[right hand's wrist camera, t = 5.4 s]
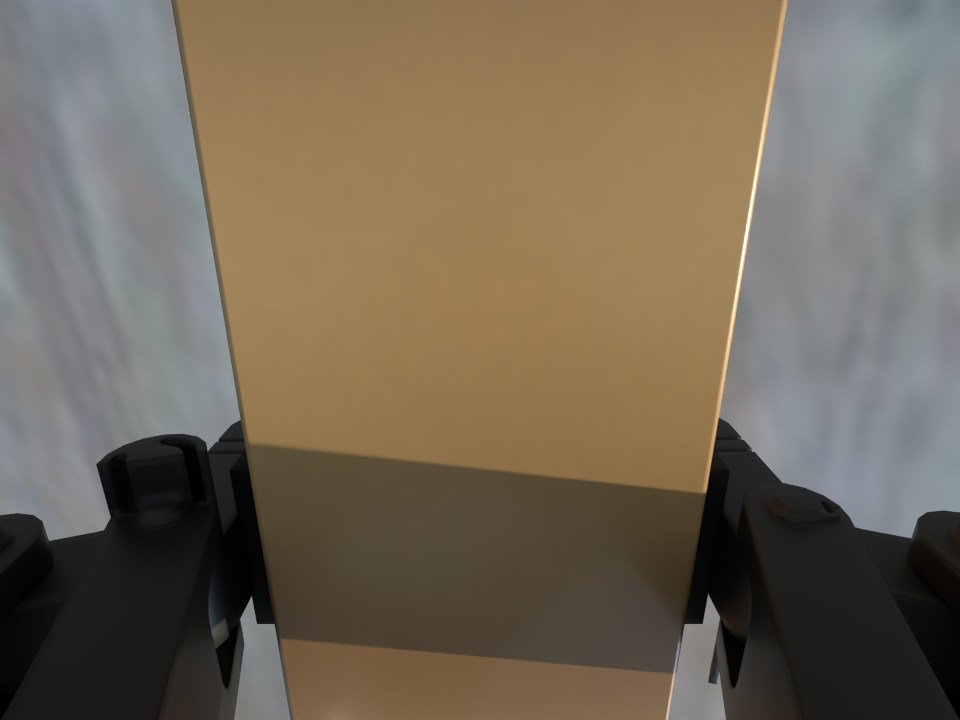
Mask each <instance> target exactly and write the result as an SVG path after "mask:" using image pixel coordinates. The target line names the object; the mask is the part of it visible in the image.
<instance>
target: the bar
mask: <svg viewBox="0 0 960 720" xmlns="http://www.w3.org/2000/svg"><path fill="white" fill-rule="evenodd" d="M171 2H172V8H173V14H174V20H175V26H176V32H177V38H178V44H179V50H180V56H181V62H182V68H183V74H184V80H185V86H186V92H187V98H188V104H189V110H190V116H191V122H192V128H193V134H194V140H195V146H196V152H197V158H198V164H199V170H200V176H201V182H202V188H203V194H204V200H205V206H206V212H207V218H208V225H209V231H210V237H211V243H212V249H213V255H214V261H215V267H216V273H217V279H218V285H219V291H220V297H221V303H222V309H223V315H224V321H225V327H226V333H227V339H228V345H229V351H230V357H231V363H232V369H233V375H234V381H235V387H236V393H237V399H238V405H239V411H240V417H241V423H242V429H243V435H244V441H245V447H246V453H247V460H248V466H249V472H250V478H251V484H252V490H253V496H254V502H255V508H256V514H257V520H258V526H259V532H260V538H261V544H262V550H263V556H264V562H265V568H266V574H267V580H268V586H269V592H270V598H271V604H272V610H273V616H274V622H275V628H276V634H277V640H278V646H279V652H280V658H281V664H282V670H283V676H284V682H285V689H286V695H287V701H288V707H289V713H290V719H291V720H669V715H670V709H671V703H672V697H673V690H674V684H675V678H676V672H677V666H678V660H679V654H680V648H681V642H682V636H683V630H684V624H685V618H686V612H687V606H688V600H689V594H690V588H691V582H692V576H693V570H694V564H695V558H696V551H697V545H698V539H699V533H700V527H701V521H702V515H703V509H704V503H705V497H706V491H707V485H708V479H709V473H710V467H711V461H712V455H713V449H714V443H715V437H716V431H717V425H718V419H719V413H720V406H721V400H722V394H723V388H724V382H725V376H726V370H727V364H728V358H729V352H730V346H731V340H732V334H733V328H734V322H735V316H736V310H737V304H738V298H739V292H740V286H741V280H742V274H743V267H744V261H745V255H746V249H747V243H748V237H749V231H750V225H751V219H752V213H753V207H754V201H755V195H756V189H757V183H758V177H759V171H760V165H761V159H762V153H763V147H764V141H765V135H766V129H767V122H768V116H769V110H770V104H771V98H772V92H773V86H774V80H775V74H776V68H777V62H778V56H779V50H780V44H781V38H782V32H783V26H784V20H785V14H786V8H787V2H788V0H171Z"/></svg>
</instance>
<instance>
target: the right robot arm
mask: <svg viewBox="0 0 960 720" xmlns="http://www.w3.org/2000/svg"><path fill="white" fill-rule="evenodd" d="M96 465H97V468H98V472H99V476H100V479H101V483H102V487H103V490H104V494H105V498H106V501H107V505H108V508H109V512H110V516H111V519H110V520H109V522H108V524H107V526H106V528H105V530H103V531H99V532H95V533H89V534H84V535H79V536H73V537H68V538H63V539H58V540H52V541H49V540H48V537H47V534H46V531H45V528H44V525H43V522H42V521H41V520H40V519H38V518H37V517H35V516H34V515H27V514H19V513H16V514H8V515H0V720H234V716H235V709H236V701H237V694H238V687H239V679H240V672H241V665H242V657H243V650H244V639H243V632H242V627H241V622H240V618H241V616H242V614H243V612H244V610H245V608H246V606H247V604H248V602H249V600H250V598H251V596H252V599H253V604H254V610H255V615H256V621H257V624H275V622H274V616H273V610H272V604H271V598H270V592H269V586H268V580H267V574H266V568H265V562H264V556H263V550H262V544H261V538H260V532H259V526H258V520H257V514H256V508H255V502H254V496H253V490H252V484H251V478H250V472H249V466H248V460H247V453H246V447H245V441H244V435H243V429H242V423H241V420H240V421H238V422H236V423H234V424H233V425H231V426H230V427H229V428H228V429H227V431H226V432H225V433H224V434H223V435H222V436H221V437H220V438H219V442H216V443H215V444H214V445H213V446H212V447H211V449H210V450H209V451H207V446H206V442H204V441H203V440H202V439H200V438H199V437H197V436H191V435H186V434H168V435H160V436H155V437H149V438H144V439H141V440H138V441H135V442H132V443H129V444H126V445H124V446H122V447H120V448H118V449H116V450H114V451H112V452H111V453H109V454H107V455H106V456H105V457H104V458H103V459H102V460H101V461H100V462H98V463H97V464H96ZM708 594H709V596H710V598H711V600H712V602H713V604H714V606H715V608H716V610H717V612H718V614H719V616H720V622H719V627H718V632H717V637H716V642H715V647H714V653H713V658H712V663H711V668H710V674H709V681H708V682H709V683H713V684H716V683H717V678H718V673H719V672H720V678H721V685H722V693H723V700H724V707H725V715H726V720H960V513H959V512H951V511H935V512H927V513H925V514H924V515H922V516H921V517H920V518H918V520H917V523H916V526H915V529H914V532H913V535H912V539H911V538H906V537H901V536H895V535H890V534H885V533H879V532H874V531H869V530H864V529H859V528H855V527H854V525H853V523H852V521H851V519H850V518H849V516H848V515H847V514H846V513H845V512H844V510H843V509H842V508H841V507H840V506H839V505H837V504H836V503H834V502H833V501H831V500H830V499H828V498H827V497H825V496H823V495H821V494H818V493H816V492H814V491H811V490H809V489H806V488H803V487H799V486H794V485H790V484H785V483H782V482H781V481H780V480H779V479H778V478H777V476H776V475H775V474H774V473H773V472H772V471H771V470H770V469H769V468H768V466H767V465H766V464H765V463H764V462H763V461H762V460H761V459H760V458H759V456H758V455H757V454H756V453H755V452H752V449H751V448H750V446H749V445H748V444H747V443H746V442H745V441H744V440H741V436H740V435H739V434H738V433H737V432H736V431H735V430H734V429H733V428H732V426H731V425H730V424H729V423H727V422H726V421H724V420H722V419H720V418H719V419H718V425H717V431H716V437H715V443H714V449H713V455H712V461H711V467H710V473H709V479H708V485H707V491H706V497H705V503H704V509H703V515H702V521H701V527H700V533H699V539H698V545H697V551H696V558H695V564H694V570H693V576H692V582H691V588H690V594H689V600H688V606H687V612H686V618H685V624H703V619H704V613H705V608H706V602H707V597H708Z"/></svg>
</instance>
